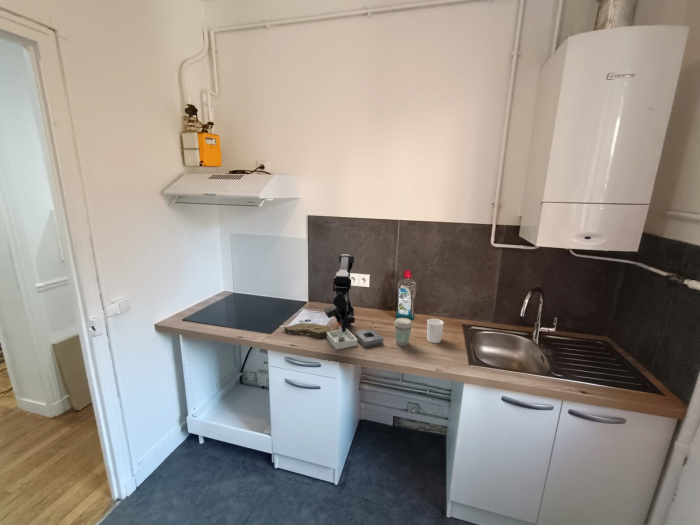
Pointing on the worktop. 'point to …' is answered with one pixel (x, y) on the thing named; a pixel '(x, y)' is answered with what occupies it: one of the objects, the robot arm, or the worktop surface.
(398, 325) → the coffee cup
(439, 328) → the white cup
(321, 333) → the stone slab
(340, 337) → the grey copper-tipped cylinder
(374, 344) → the block
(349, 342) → the parts tray
